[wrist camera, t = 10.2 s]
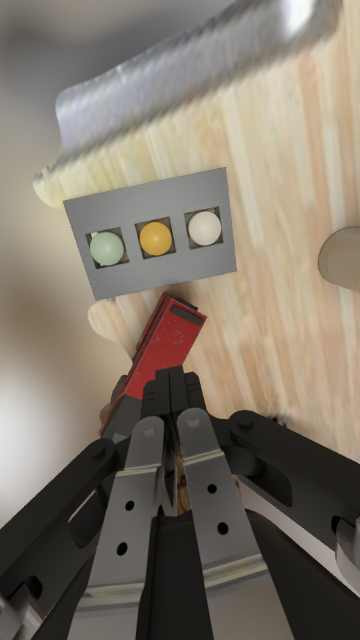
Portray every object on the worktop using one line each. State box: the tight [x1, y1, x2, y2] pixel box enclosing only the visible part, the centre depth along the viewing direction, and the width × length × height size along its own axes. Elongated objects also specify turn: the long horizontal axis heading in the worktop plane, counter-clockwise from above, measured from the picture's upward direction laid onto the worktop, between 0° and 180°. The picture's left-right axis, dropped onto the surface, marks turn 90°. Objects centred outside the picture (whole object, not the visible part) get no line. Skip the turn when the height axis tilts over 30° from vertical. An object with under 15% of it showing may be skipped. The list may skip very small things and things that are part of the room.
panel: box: [63, 167, 237, 300], centre depth 37 cm, size 22×14×3 cm, turn 101°
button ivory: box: [187, 212, 221, 245], centre depth 36 cm, size 4×4×4 cm
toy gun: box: [98, 293, 207, 444], centre depth 40 cm, size 5×24×15 cm, turn 151°
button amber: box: [140, 222, 172, 255], centre depth 36 cm, size 4×4×4 cm
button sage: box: [90, 232, 126, 265], centre depth 36 cm, size 4×4×4 cm
